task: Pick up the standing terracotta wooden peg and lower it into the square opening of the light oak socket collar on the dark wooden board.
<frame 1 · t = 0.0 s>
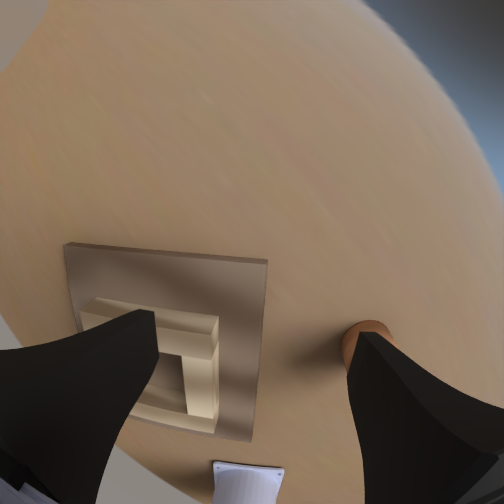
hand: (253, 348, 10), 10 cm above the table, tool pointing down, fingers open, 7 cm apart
socket: (162, 354, 22), on the table
peg: (365, 342, 20), on the table
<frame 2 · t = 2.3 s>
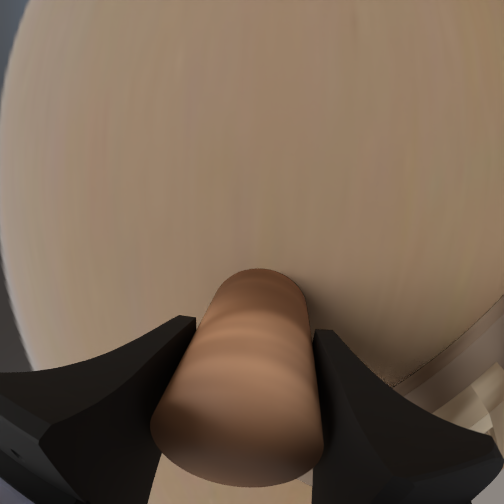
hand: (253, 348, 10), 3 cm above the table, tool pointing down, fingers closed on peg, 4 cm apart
socket: (442, 434, 14), on the table
peg: (259, 313, 12), on the table, touching gripper
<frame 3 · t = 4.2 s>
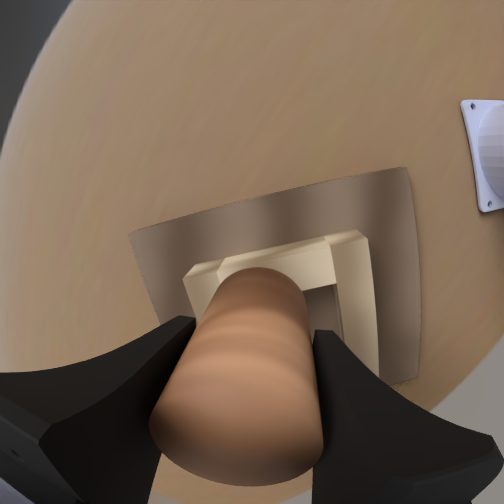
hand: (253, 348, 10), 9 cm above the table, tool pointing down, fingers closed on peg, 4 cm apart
socket: (291, 313, 19), on the table
peg: (258, 312, 12), point 7 cm above the table, touching gripper
when the fingers open (5 cm above the table, at t = 6.5 s): peg stays where it is, resting on socket.
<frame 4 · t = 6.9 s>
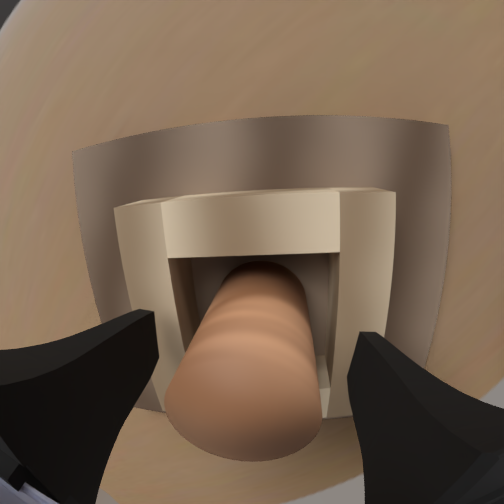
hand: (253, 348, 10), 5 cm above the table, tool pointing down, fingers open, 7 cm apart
socket: (262, 294, 14), on the table
peg: (261, 302, 13), point 1 cm above the table, touching socket
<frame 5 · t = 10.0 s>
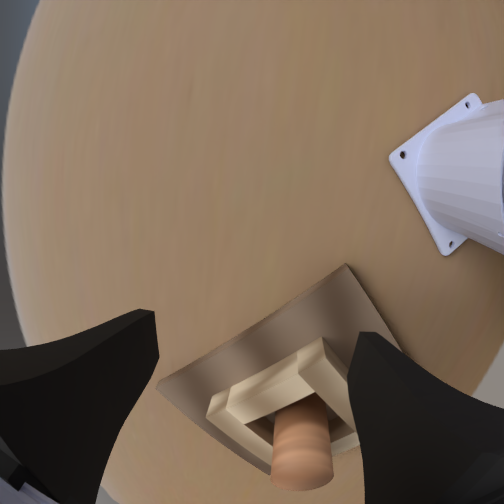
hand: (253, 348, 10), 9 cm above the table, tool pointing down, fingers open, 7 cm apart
socket: (300, 399, 22), on the table
peg: (300, 407, 21), point 1 cm above the table, touching socket
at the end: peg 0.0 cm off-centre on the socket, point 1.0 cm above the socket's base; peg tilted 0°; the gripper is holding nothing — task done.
